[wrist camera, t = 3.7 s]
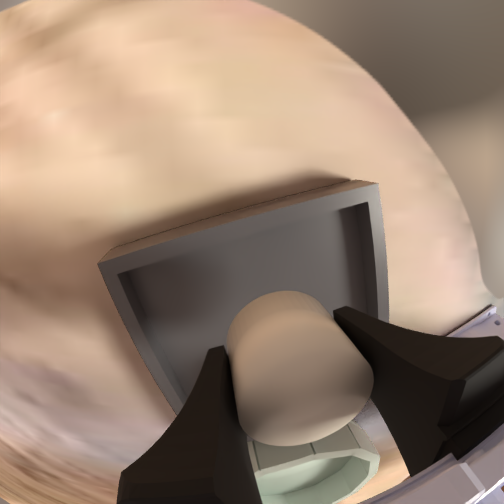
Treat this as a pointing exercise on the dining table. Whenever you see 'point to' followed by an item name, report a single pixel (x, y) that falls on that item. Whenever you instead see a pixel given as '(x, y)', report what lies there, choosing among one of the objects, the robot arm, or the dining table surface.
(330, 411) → the pebble
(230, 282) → the tray
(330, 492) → the bowl
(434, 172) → the dining table surface
